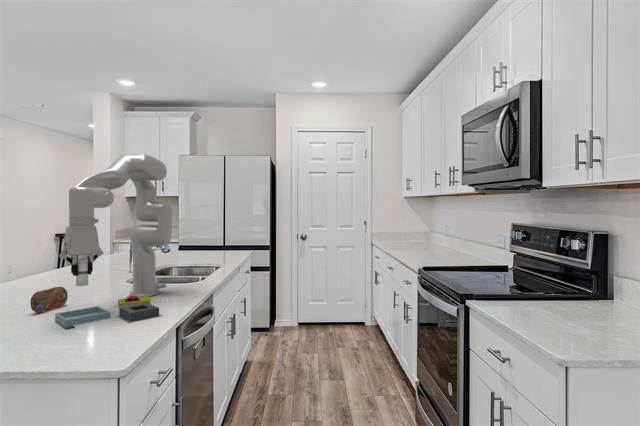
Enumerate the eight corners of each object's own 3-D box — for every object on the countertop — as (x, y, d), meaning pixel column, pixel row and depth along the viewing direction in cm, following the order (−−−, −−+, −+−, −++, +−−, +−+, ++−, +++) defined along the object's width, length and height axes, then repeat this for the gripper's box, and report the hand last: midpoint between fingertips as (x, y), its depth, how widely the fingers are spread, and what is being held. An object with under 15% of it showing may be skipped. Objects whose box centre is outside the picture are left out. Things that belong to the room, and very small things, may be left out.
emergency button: (113, 296, 165) (153, 292, 172) (113, 307, 165) (153, 302, 173) (114, 301, 157) (156, 296, 164) (114, 312, 157) (156, 307, 164)
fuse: (86, 283, 146) (86, 258, 146) (90, 284, 143) (89, 259, 143) (74, 284, 143) (74, 259, 143) (77, 286, 141) (77, 260, 140)
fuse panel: (148, 312, 156) (148, 301, 156) (162, 318, 148) (162, 307, 147) (115, 318, 147) (115, 307, 147) (128, 325, 139) (128, 314, 139)
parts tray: (98, 314, 153) (98, 306, 153) (110, 320, 145) (110, 312, 145) (55, 321, 143) (55, 313, 143) (65, 329, 135) (65, 320, 135)
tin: (35, 315, 151) (35, 292, 151) (28, 315, 152) (28, 292, 152) (68, 305, 166) (68, 284, 166) (61, 305, 166) (61, 284, 166)
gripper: (103, 221, 152) (103, 270, 152) (51, 222, 139) (51, 276, 140) (110, 222, 146) (111, 273, 147) (57, 223, 134) (57, 279, 135)
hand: (82, 274), depth 143 cm, fingers closed on fuse, 3 cm apart
